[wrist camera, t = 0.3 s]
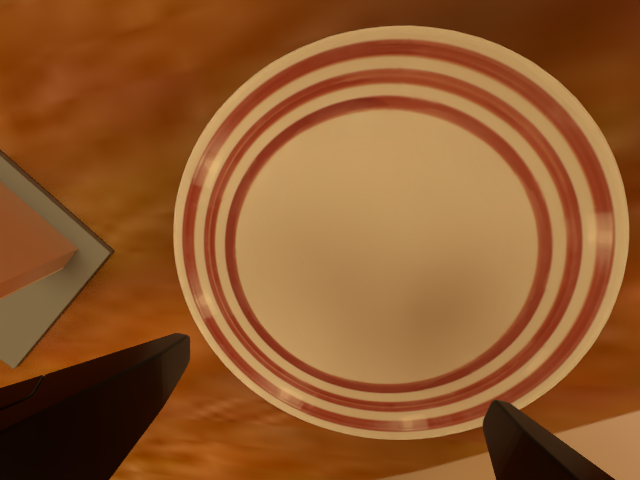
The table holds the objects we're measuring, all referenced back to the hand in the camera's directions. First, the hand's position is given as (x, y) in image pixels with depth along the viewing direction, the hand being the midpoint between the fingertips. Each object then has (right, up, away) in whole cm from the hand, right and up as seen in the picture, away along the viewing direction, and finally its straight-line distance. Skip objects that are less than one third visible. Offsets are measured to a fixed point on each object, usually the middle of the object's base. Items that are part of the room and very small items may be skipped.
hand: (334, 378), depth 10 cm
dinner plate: (+4, +3, +14) cm, 15 cm away
